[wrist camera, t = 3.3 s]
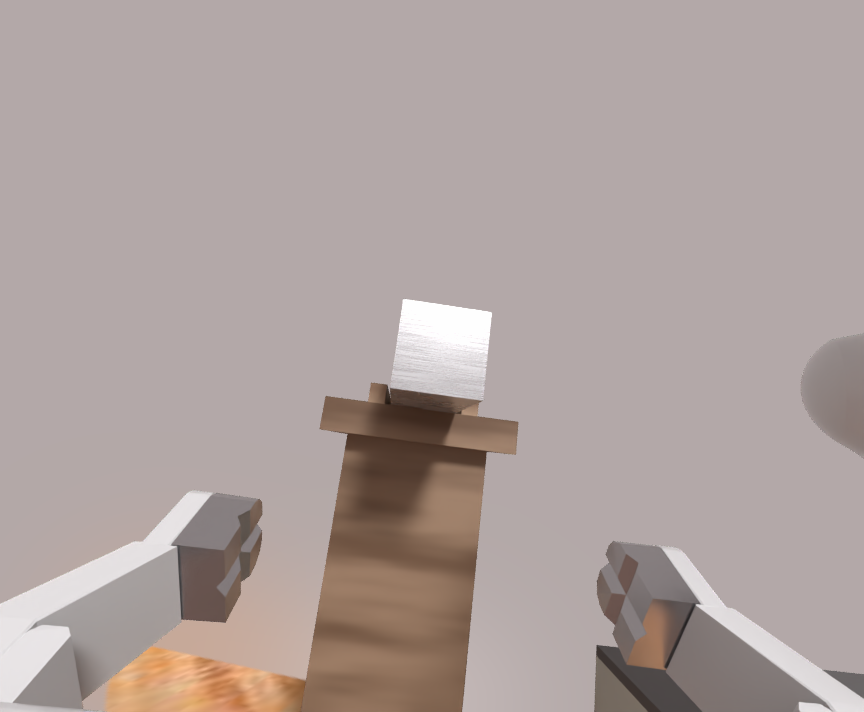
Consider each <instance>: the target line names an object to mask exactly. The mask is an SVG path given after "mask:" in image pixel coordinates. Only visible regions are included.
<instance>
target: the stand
mask: <svg viewBox="0 0 864 712" xmlns="http://www.w3.org/2000/svg"><path fill="white" fill-rule="evenodd" d="M478 405H479V403H477V404H475V405H473V406H470V407H468V408H466V409H464V410H462V411H460V412H457V413H448V412H441V411H433V410H426V409H418V408H411V407H403V406H396V405H391V398H390V394H389V390H388V386H387V385H385V384H378V383H371V388H370V393H369V399H368V402H366V401H358V400H351V399H343V398H335V397H328V396H326V397H325V403H324V408H323V413H322V419H321V424H320V429H322V430H328V431H334V432H339V433H345V434H348V435H347V441H346V446H345V453H344V458H343V465H342V470H341V477H340V482H339V488H338V494H337V500H336V506H335V512H334V518H333V524H332V530H331V536H330V542H329V548H328V553H327V559H326V565H325V571H324V577H323V583H322V589H321V595H320V601H319V607H318V612H317V619H316V624H315V630H314V636H313V642H312V648H311V654H310V660H309V666H308V672H307V678H306V684H305V690H304V695H303V701H302V707H301V712H462V705H463V696H464V685H465V675H466V664H467V653H468V643H469V632H470V622H471V610H472V601H473V590H474V579H475V568H476V559H477V548H478V537H479V526H480V516H481V506H482V495H483V485H484V474H485V464H486V453H487V452H495V453H504V454H516V445H517V432H518V422H515V421H508V420H500V419H492V418H485V417H478V416H477V414H478Z"/></svg>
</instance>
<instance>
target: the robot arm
mask: <svg viewBox="0 0 864 712" xmlns="http://www.w3.org/2000/svg"><path fill="white" fill-rule="evenodd" d="M801 396H802V401H803V403H804V406H805V409H806V410H807V412H808V414H809V416H810V417H811V419H812V420H813V421H814V423H815V424H816V425H817V426H818V427H819V428H820V429H821V430H822V431H823V432H824V433H826V434H827V435H828V436H829V437H831V438H832V439H834V440H835V441H837V442H839V443H840V444H842V445H844V446H845V447H847V448H849V449H850V450H852V451H853V452H855V453H857V454H858V455H860V456H861V457H862V458H864V333H863V334H858V335H853V336H847V337H842V338H837V339H832V340H830V341H829V342H827V343H826V344H824V345H823V346H822V347H821V348H820V349H819V350H818V351H817V352H816V353H815V354H814V355H813V356H812V357H811V359H810V360H809V362H808V363H807V365H806V367H805V369H804V372H803V375H802V379H801ZM261 516H262V502H261V500H260V499H255V498H248V497H241V496H234V495H227V494H220V493H210V492H203V491H195V490H193V491H191V492H188V493H187V494H186V495H185V496H184V497H183V498H182V499H181V500H180V501H179V503H178V504H177V505H176V506H175V507H174V508H173V509H172V510H171V511H170V512H169V513H168V514H167V515H166V516H165V518H164V519H163V520H162V521H161V522H160V523H159V524H158V525H157V526H156V528H154V530H153V531H152V532H151V533H150V534H149V535H148V536H147V537H146V538H145V539H144V541H142V542H132V543H130V544H128V545H126V546H124V547H121V548H120V549H117V550H115V551H113V552H111V553H109V554H107V555H104V556H102V557H100V558H98V559H96V560H94V561H91V562H89V563H87V564H85V565H83V566H81V567H79V568H76V569H74V570H72V571H70V572H68V573H66V574H64V575H61V576H59V577H57V578H55V579H53V580H51V581H48V582H46V583H44V584H42V585H40V586H38V587H36V588H33V589H31V590H29V591H27V592H25V593H23V594H21V595H18V596H16V597H14V598H12V599H10V600H8V601H6V602H4V603H1V604H0V712H105V711H94V710H84V709H83V704H82V701H83V700H84V699H85V698H86V697H88V696H89V695H90V694H91V693H93V692H94V691H95V690H96V689H98V688H99V687H100V686H102V685H103V684H104V683H105V682H107V681H108V680H109V679H110V678H112V677H113V676H114V675H115V674H117V673H118V672H119V671H120V670H122V669H123V668H124V667H126V666H127V665H128V664H129V663H131V662H132V661H133V660H134V659H136V658H137V657H138V656H139V655H141V654H142V653H143V652H144V651H146V650H147V649H148V648H149V647H151V646H152V645H153V644H154V643H156V642H157V641H158V640H159V639H161V638H162V637H163V636H165V635H166V634H167V633H168V632H170V631H171V630H172V629H173V628H175V627H176V626H177V625H179V624H180V623H181V619H183V620H196V621H210V622H224V623H225V622H226V621H227V619H228V617H229V614H230V613H231V611H232V609H233V607H234V605H235V603H236V602H237V600H238V598H239V596H240V593H241V581H243V580H245V579H246V578H247V577H249V576H250V575H251V572H252V570H253V568H254V566H255V564H256V561H257V558H258V555H259V552H260V547H261V541H262V530H261V529H260V527H259V526H258V525H257V523H258V521H259V519H260V517H261ZM606 556H607V558H608V560H609V563H608V565H606V566H605V567H603V568H602V569H601V570H600V573H599V577H598V580H597V595H598V599H599V604H600V606H601V609H602V611H603V613H604V615H605V616H606V617H607V618H608V619H609V620H610V621H611V622H612V623H613V624H614V625H615V627H614V631H613V636H614V638H615V641H616V643H617V645H618V647H619V649H620V652H621V654H622V656H623V658H624V661H625V663H626V665H633V666H641V667H648V668H655V669H663V670H666V673H667V674H668V675H669V676H670V677H671V678H672V680H673V681H674V682H675V683H676V684H677V685H678V686H679V687H680V688H681V689H682V690H683V691H684V692H685V694H686V695H687V696H688V697H689V698H690V699H691V700H692V701H693V702H694V703H695V704H696V705H697V706H698V708H699V709H700V710H701V711H702V712H864V699H863V698H862V697H860V696H859V695H857V694H856V693H855V692H853V691H852V690H850V689H849V688H847V687H846V686H844V685H843V684H842V683H840V682H839V681H837V680H836V679H834V678H833V677H831V676H830V675H829V674H827V673H826V672H824V671H823V670H821V669H820V668H818V667H817V666H816V665H814V664H813V663H811V662H810V661H808V660H807V659H805V658H804V657H803V656H801V655H800V654H798V653H797V652H795V651H794V650H792V649H791V648H790V647H788V646H787V645H785V644H784V643H782V642H781V641H779V640H778V639H776V638H775V637H774V636H772V635H771V634H769V633H768V632H766V631H765V630H764V629H762V628H761V627H759V626H758V625H756V624H755V623H753V622H752V621H751V620H749V619H748V618H746V617H745V616H743V615H742V614H741V613H739V612H738V611H736V610H735V609H731V608H726V606H725V605H724V604H723V602H722V601H721V600H720V599H719V597H718V596H717V595H716V593H715V592H714V591H713V590H712V588H711V587H710V586H709V585H708V583H707V582H706V581H705V579H704V578H703V577H702V575H701V574H700V573H699V572H698V570H697V569H696V568H695V566H694V565H693V564H692V563H691V561H690V560H689V559H688V557H687V556H686V555H685V554H684V552H683V551H681V550H680V549H678V548H676V547H668V546H657V545H655V546H652V545H643V544H634V543H624V542H615V541H613V542H612V543H611V544H610V545H609V547H608V549H607V552H606Z"/></svg>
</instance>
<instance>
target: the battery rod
mask: <svg viewBox="0 0 864 712" xmlns="http://www.w3.org/2000/svg"><path fill="white" fill-rule="evenodd" d="M491 315H492V313H491V312H485V311H478V310H472V309H465V308H458V307H453V306H446V305H439V304H433V303H426V302H419V301H413V300H406V299H404V300H403V305H402V312H401V319H400V326H399V333H398V339H397V345H396V352H395V359H394V366H393V372H392V379H391V386H390V395H391V405H396V406H403V407H411V408H418V409H426V410H433V411H441V412H448V413H457V412H460V411H462V410H464V409H466V408H468V407H470V406H473V405H475V404H477V403H479V402H481V401H483V396H484V386H485V375H486V365H487V354H488V345H489V334H490V325H491Z"/></svg>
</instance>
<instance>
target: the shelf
mask: <svg viewBox="0 0 864 712" xmlns="http://www.w3.org/2000/svg"><path fill="white" fill-rule="evenodd" d="M823 671H824V672H826V673H827V674H829V675H830V676H831V677H833V678H834V679H836V680H837V681H839V682H840V683H842V684H843V685H844V686H846V687H847V688H849V689H850V690H852V691H853V692H855V693H856V694H857V695H859V696H860V697H862V698H863V699H864V674H855V673H845V672H837V671H827V670H823ZM594 712H702V711H701V710H700V709H699V708H698V706H697V705H696V704H695V703H694V702H693V701H692V700H691V699H690V698H689V697H688V696H687V695H686V694H685V692H684V691H683V690H682V689H681V688H680V687H679V686H678V685H677V684H676V683H675V682H674V681H673V680H672V678H671V677H670V676H669V675H668V674H667V673H666V670H663V669H655V668H648V667H641V666H633V665H626V663H625V661H624V658H623V656H622V654H621V652H620V649H619V648H617V647H609V646H599V645H597V651H596V681H595V710H594Z"/></svg>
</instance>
